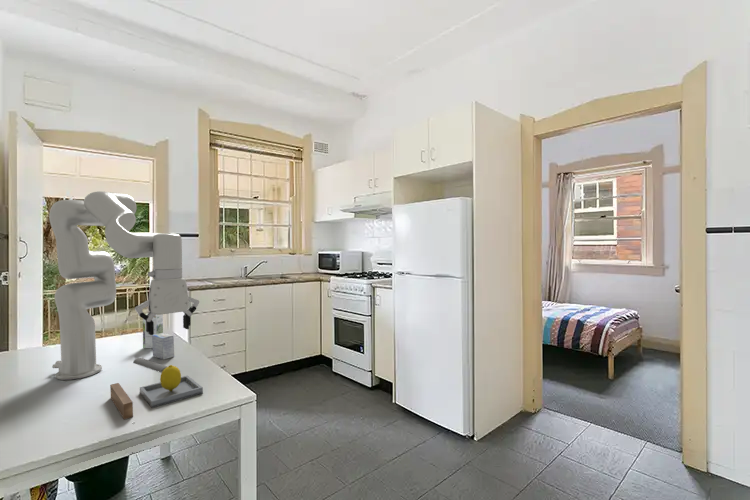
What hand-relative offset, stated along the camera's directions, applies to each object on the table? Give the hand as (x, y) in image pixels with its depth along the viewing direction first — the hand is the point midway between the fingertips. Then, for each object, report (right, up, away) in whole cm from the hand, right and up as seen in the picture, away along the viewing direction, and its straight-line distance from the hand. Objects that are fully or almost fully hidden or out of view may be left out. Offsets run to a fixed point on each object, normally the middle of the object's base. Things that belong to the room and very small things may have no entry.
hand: (169, 331), depth 112 cm
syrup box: (-34, -17, +49) cm, 62 cm away
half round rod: (-20, -19, +25) cm, 37 cm away
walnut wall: (-9, -19, -8) cm, 23 cm away
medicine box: (-22, -18, +35) cm, 45 cm away
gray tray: (0, -19, +1) cm, 19 cm away
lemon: (0, -19, +1) cm, 19 cm away
